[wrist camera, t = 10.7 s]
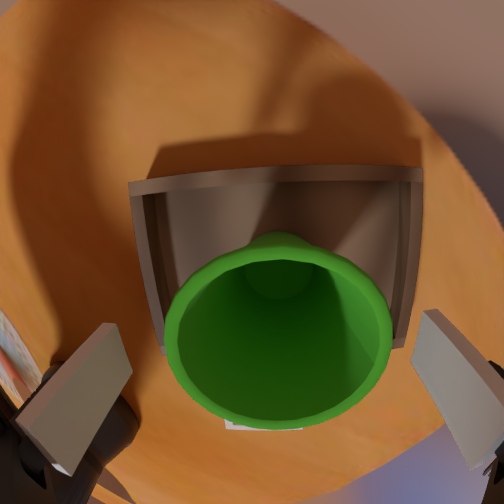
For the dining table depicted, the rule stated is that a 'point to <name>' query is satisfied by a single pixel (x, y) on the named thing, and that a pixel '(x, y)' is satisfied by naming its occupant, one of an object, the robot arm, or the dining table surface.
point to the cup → (278, 334)
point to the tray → (281, 224)
